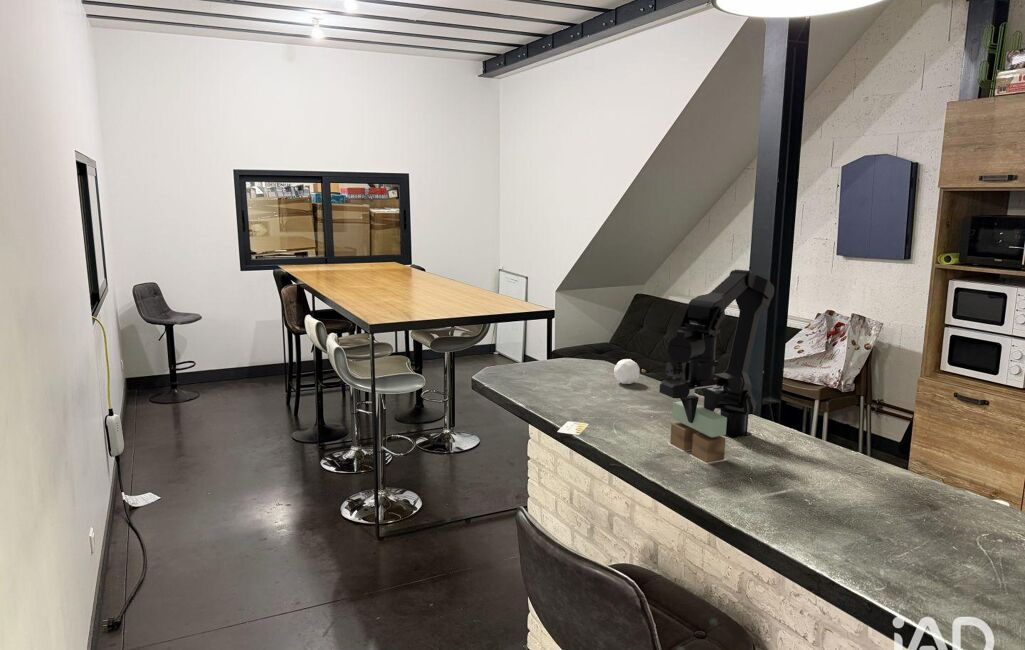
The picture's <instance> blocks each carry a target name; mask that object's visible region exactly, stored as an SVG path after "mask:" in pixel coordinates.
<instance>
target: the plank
mask: <svg viewBox="0 0 1025 650" xmlns="http://www.w3.org/2000/svg"><path fill="white" fill-rule="evenodd" d="M672 406H673V407H672V419H673V420H675V421H677V422H678V423H679V422H681V423H683V424H685V425H687V426H689V427H691V428H693V429H695V430H697V431H699V432H701V433H703V434H705V435H707V436H709V437H716V436H722V437H723V436H726V425H727V417H724V416H722V415H720V413H717V412H715V411H714V412H713V411H711V410H708V409H706V408H704V406H701V405H699V404H697V408H696V413H695V417H694V421H693V423H689V422H688V419H687V415H686V412H685V409H684V406H683V404H682V401H681V400H680V401H673V404H672Z"/></svg>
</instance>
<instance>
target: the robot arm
mask: <svg viewBox="0 0 1025 650" xmlns="http://www.w3.org/2000/svg"><path fill="white" fill-rule="evenodd" d="M774 295H775V286H774V285H773V284H772V283H771V281H770V280H768V279H767V278H764V277H762V276H760V275H757V274H756V273H755V272H753V271H752V270H746V269H734V270H733V269H732V270H731V271H730V273H729V275H728V276H727V277H726V278H725V279H724V280H723V281H721V283H720V284H718V285H717V286H716V287H714V289H712V291H710V292H709V293H707V294H700V295H697V296H696V297H694V298H692V299H691V300H690V301H689V302H688V304H687V305H686V307H685V310H684V312H683V315H682V317H681V320H680V321H679V324H678V327H677V331H676V336H674V337H673V338H672V339H670V341H669V342H668V344H667V352H668V355H669V357H670V358H671V360H672V361H668V362H666V365H665V374H666V375H667V376H668V377H669V376H670V377H672V379H666V380H665V379H664V380H662V381H661V382H660V384H659V393H660V394H662V395H666V396H667V397H670V398H671V399H677V400H678V399H679V400H680V401H682V404H683V406H684V409H685V412H686V415H687V419H688V422H689V423H693V421H694V417H695V413H696V408H697V405H698V404H699V396H697V395H696V394H695V392H696V390H697V391H698V390H701V391H702V395H703V407H704V408H706V409H708V410H711V411H713V412H715V410H716V409H719V410H720V413H719V414H720V415H722V416H724V417H727V425H726V435H725V436H726V437H728V438H731V439H736V438H741V437H749V436H752V435H753V434H752V433H751V432H750V431H748V425H749V423H748V422H749V415H754V414H755V411H756V408H757V407H756V406H757V402H756V400H755V398H754V395H753V393H752V386H753V385H752V383H751V380H750V377H749V374H748V373H749V367H750V363H751V359H752V353H753V349H754V344H755V339H756V335H757V330H758V326H759V321H760V317H761V316H762V315H763V314H764V313H765V312H766V311H767V310H768V309H769V307H770V304H771V301H772V299H773V298H774ZM734 301H735V303H736V305H737V307H738V311H739V314H738V318H737V321H736V322H737V323H736V328H735V333H734V338H733V341H732V346H731V351H730V354H729V358H728V359H729V360H728V363H727V368H726V369H725V370H724V371H723V372H720V373H715V368H716V367H719V364H720V361H719V360H716V350H717V349H716V348H717V335H719V334H720V333H721V330H720V329H719V327H720V325H721V323H722V322H723V320H724V318H726V314H725V313H726V311H725V310H726V309H727V308H728V306H730V305H731V304H732V303H733V302H734ZM679 378H681V380H683V381H687V382H683V381H681V380H678V379H679Z"/></svg>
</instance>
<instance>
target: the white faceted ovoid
mask: <svg viewBox="0 0 1025 650" xmlns="http://www.w3.org/2000/svg"><path fill="white" fill-rule="evenodd" d="M613 370H614V372H613V374H614V377H615V379H616V380H617V381H618V382H619V383H621V384H622V385H632V384H634V383H635V382H637V380H638V378H639V377H640V366H639V364H638V363H637V362H635V361H634V360H632V359H631V358H624V359H621V360H619V361H618V362H617V363H616V364H615V366H614V369H613Z"/></svg>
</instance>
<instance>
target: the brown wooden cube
mask: <svg viewBox="0 0 1025 650" xmlns="http://www.w3.org/2000/svg"><path fill="white" fill-rule="evenodd" d="M697 433H701V432H699V431H697V430H695V429H693V428H691V427H689V426H687V425H685V424H683V423H681V422H679V421H678V422H675V423H674V422H673V423H671V425H670V440H669V441H670V442H669V443H670V444H672V445H674V446H675V447H677V448H679V449H681V450H683V451H685V450H691V449H692V443H693V434H697ZM675 447H674V448H675ZM677 448H676V449H677Z"/></svg>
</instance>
